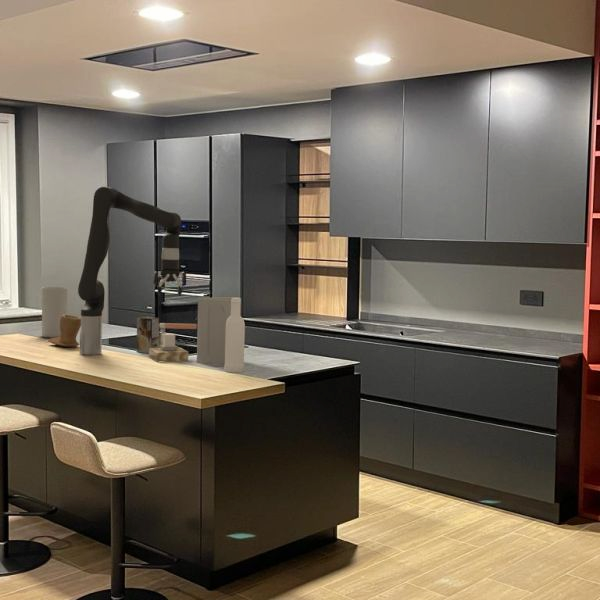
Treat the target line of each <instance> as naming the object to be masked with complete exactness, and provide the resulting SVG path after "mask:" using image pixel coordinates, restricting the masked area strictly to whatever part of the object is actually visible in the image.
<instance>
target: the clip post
mask: <svg viewBox="0 0 600 600" xmlns="http://www.w3.org/2000/svg"><path fill="white" fill-rule="evenodd" d="M163 334H166V328H160V345H163Z"/></svg>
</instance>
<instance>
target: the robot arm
mask: <svg viewBox="0 0 600 600" xmlns="http://www.w3.org/2000/svg"><path fill="white" fill-rule="evenodd" d="M92 200H93V202H92V216H91V222H90V227H89V228H90V229H89V234H88V239H87V244H86V252H85V258H84V263H83V268H82V272H81V276H80V279H79V283H78V288H77V292H78V293H77V294H78V296H79V298H80V300H82V301H83V302H84V301H85V304H84V305H83V307H82V308H81V310H80V318H81V327H80V331H79V353H80V354H81V355H85V356H86V355H88V356H91V355H95V356H96V355H101V354H102V339H103V338H102V337H103V336H102V335H103V311H104V308H105V295H106V294H105V286H104V284H103V282H101V281H100V280H98V276H99V271H100V269H101V267H102V265H103V264H104V262H105V259H106V258H107V256H108V251H109V245H110V239H111V238H110V237H111V235H110V229H109V214H110V209H119V210H122V211H126V212H128V213H131V214H132V215H134V216H135V217H137V218H139V219H142V220H145V221H148V222H150V223H153V224H156V225H158V226H160V227H161V228H164V229H165V234H163V236H162V249H161V250H162V251H161V271H154V272H153V281H152V282H153V284H152V285H154V286H155V287H157V291H156V293H157V294H158V297H159V296H160V297H161V296H162V295H163V293H162V290H163V289H162V286H163V284H165V282H166V283H167V282H168V283H169V282H175V283H176V285H177V296H179V297H180V296H181V295H182V293H183V287H184V286H187V273H186V272H185V271H181V272H180V250H179V248H180V247H179V245H180V244H179V243H180V242H179V241H180V239H179V238H180V234H181V228H182V218H181V216H180V215H179V213H176V212H170V211H166V210H163V209H161V208H159V207H157V206H156V205H152V204H150V203H147V202H144V201H141V200H138V199H134V198H132V197H130V196H128V195H126V194H124V193H122V192H121V191H120V190H117V189H115V188H114V187H111V186H100V187H98V188H97V189H95V192H94V193H93V199H92ZM160 276H161V279H160V281H158V278H159V277H160ZM179 276H180V277H181V281H180V279H179Z"/></svg>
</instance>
